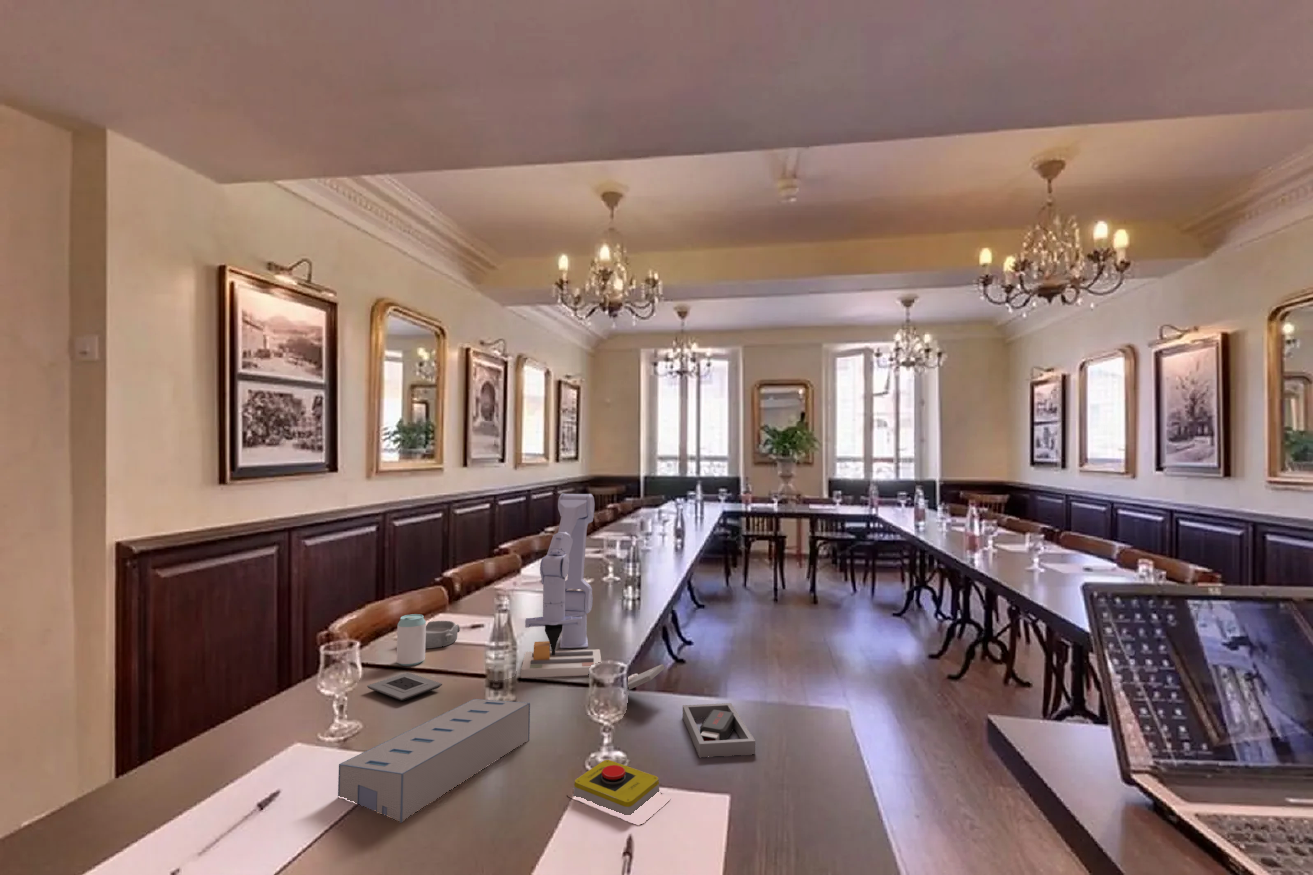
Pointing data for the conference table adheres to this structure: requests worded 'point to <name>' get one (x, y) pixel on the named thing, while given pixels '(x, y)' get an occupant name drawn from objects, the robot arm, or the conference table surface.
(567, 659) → the plate
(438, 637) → the dish
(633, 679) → the light switch
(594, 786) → the emergency button
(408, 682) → the electrical outlet
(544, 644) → the orange cube
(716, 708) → the desk tray
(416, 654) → the can
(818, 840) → the conference table surface
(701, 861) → the conference table surface
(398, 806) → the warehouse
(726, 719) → the usb drive
